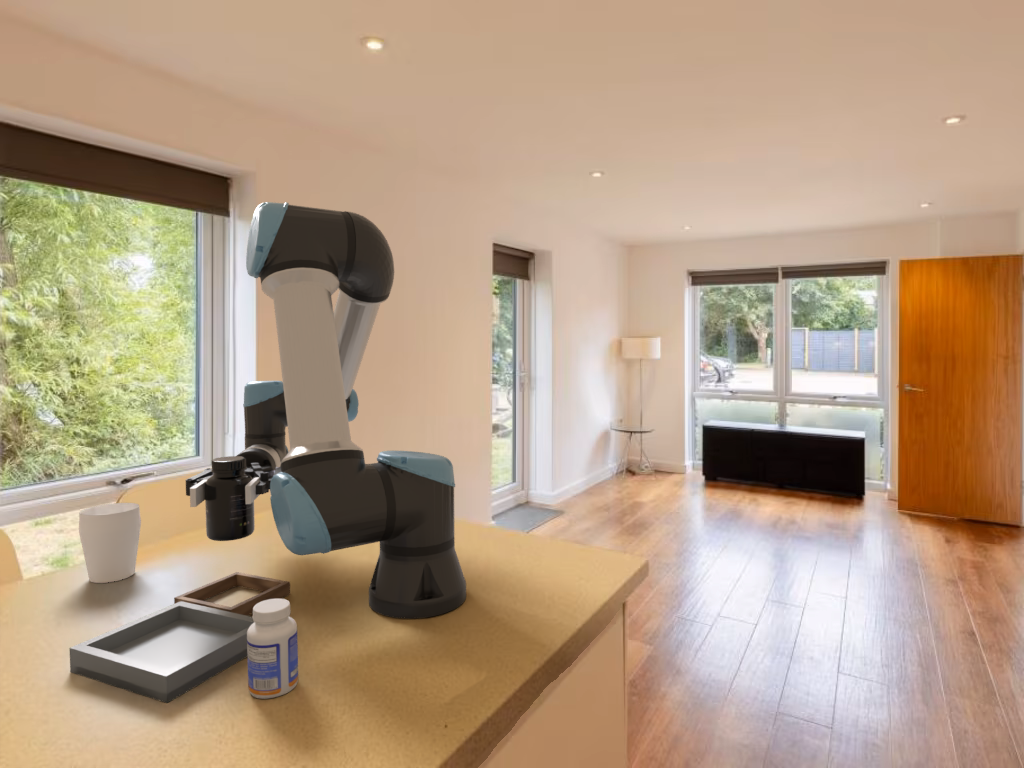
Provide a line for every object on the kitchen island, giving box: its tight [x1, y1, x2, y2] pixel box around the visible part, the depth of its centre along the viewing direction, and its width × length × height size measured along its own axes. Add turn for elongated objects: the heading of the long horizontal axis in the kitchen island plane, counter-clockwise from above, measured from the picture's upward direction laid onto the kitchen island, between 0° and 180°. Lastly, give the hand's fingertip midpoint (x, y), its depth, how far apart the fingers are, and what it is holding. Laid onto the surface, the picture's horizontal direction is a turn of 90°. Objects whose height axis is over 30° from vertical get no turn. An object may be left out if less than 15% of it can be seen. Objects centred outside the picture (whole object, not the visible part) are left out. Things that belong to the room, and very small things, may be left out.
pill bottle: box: [247, 598, 299, 700], centre depth 69 cm, size 5×5×10 cm
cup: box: [78, 502, 142, 584], centre depth 104 cm, size 9×9×12 cm
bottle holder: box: [173, 571, 291, 616], centre depth 93 cm, size 12×12×2 cm
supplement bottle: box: [204, 455, 256, 542], centre depth 92 cm, size 7×7×12 cm
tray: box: [68, 601, 254, 704], centre depth 76 cm, size 17×15×3 cm
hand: (220, 496), depth 87 cm, fingers closed on supplement bottle, 7 cm apart
